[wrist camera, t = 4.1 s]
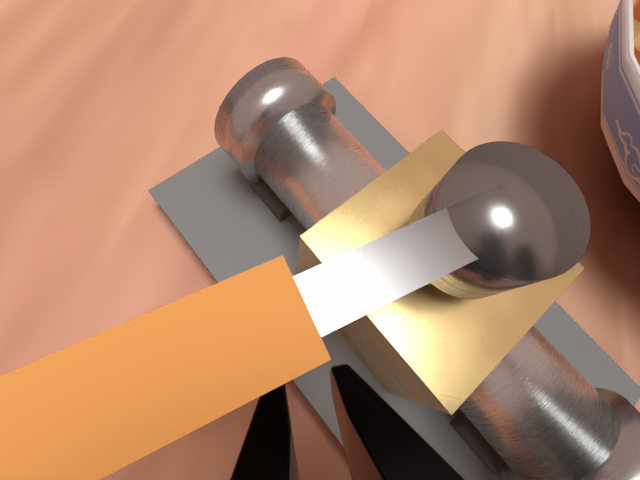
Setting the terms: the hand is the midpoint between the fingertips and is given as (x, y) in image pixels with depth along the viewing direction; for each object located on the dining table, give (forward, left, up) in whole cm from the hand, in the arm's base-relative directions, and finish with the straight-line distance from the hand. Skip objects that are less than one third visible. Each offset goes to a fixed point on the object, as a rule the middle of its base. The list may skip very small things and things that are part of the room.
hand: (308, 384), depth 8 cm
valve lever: (+1, -2, 0) cm, 2 cm away
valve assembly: (-1, -5, -9) cm, 10 cm away
